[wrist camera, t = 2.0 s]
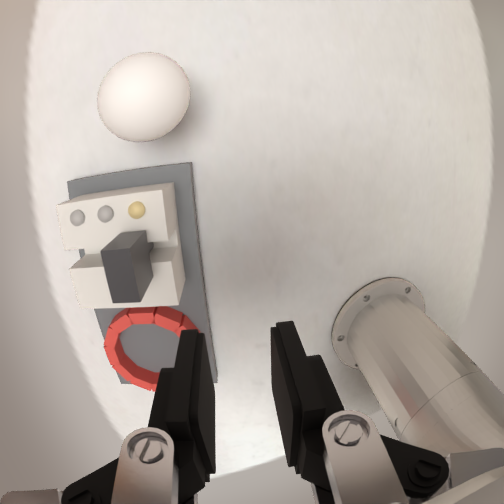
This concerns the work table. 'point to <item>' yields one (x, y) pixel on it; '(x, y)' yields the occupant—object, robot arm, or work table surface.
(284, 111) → the work table surface
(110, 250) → the block
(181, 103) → the lightbulb
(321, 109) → the work table surface
